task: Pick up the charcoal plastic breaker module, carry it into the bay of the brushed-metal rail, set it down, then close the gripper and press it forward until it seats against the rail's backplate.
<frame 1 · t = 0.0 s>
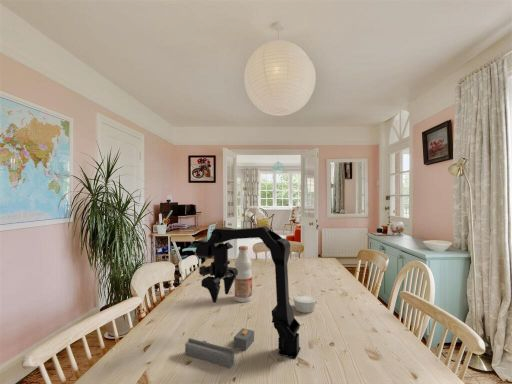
hand: (220, 298, 106), 15 cm above the table, fingers open, 9 cm apart
ramekin: (304, 309, 129), on the table
module: (244, 344, 99), on the table
rail: (209, 359, 90), on the table
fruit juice: (243, 299, 142), on the table
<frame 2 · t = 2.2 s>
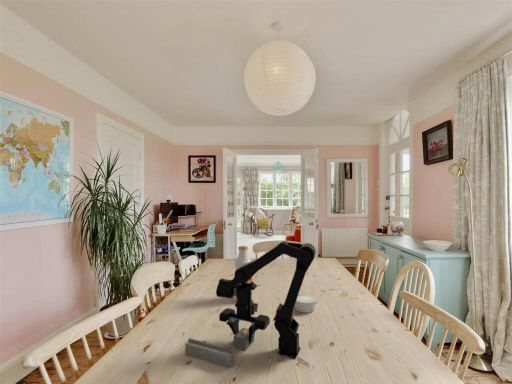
hand: (244, 341, 99), 1 cm above the table, fingers closed on module, 5 cm apart
module: (244, 344, 99), on the table, touching gripper
everything else where it was.
when the fingers open (2 cm above the table, at t = 5.5 s): module drops 1 cm, on the table.
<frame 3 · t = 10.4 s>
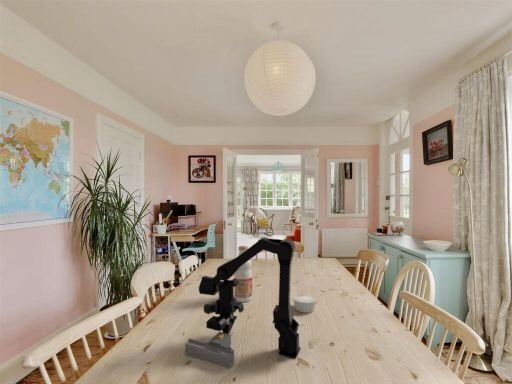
hand: (226, 337, 101), 2 cm above the table, fingers closed
module: (220, 348, 96), on the table, touching gripper
everything else where it was.
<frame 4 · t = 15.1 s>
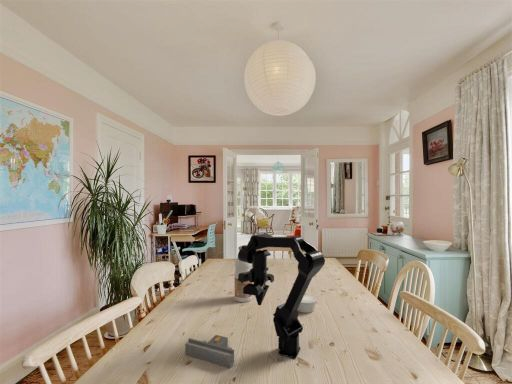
hand: (259, 304, 105), 12 cm above the table, fingers closed
module: (216, 352, 94), on the table
everything else where it was.
at the end: module 0.5 cm from the target spot, on the table; module tilted 0°; the gripper is holding nothing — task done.
